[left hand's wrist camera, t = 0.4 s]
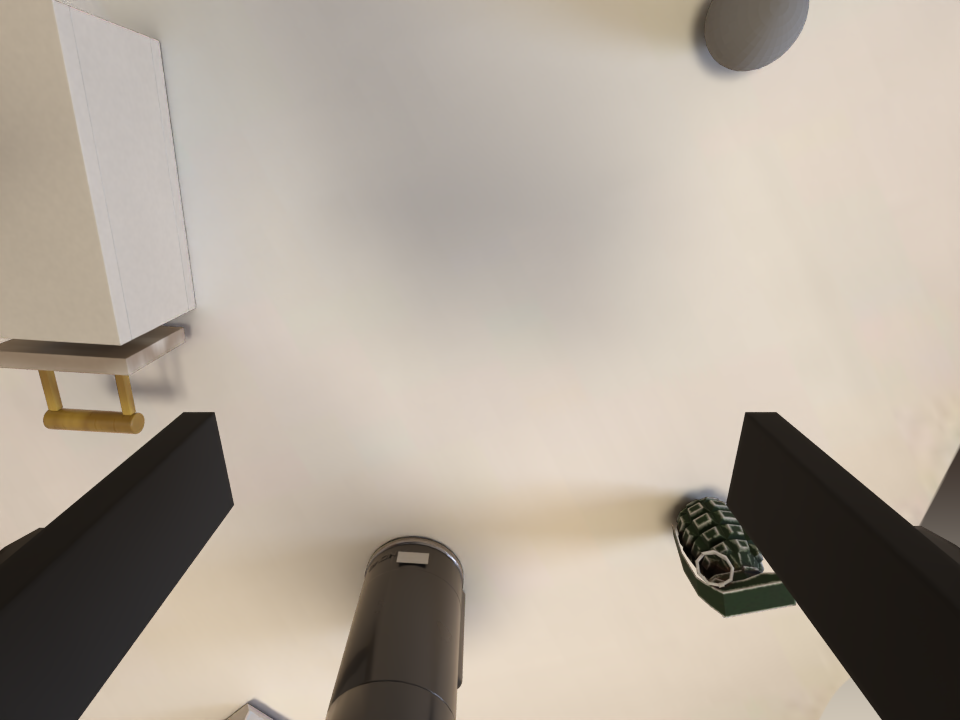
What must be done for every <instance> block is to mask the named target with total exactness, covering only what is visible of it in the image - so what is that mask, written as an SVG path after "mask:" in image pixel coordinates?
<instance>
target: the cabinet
mask: <svg viewBox="0 0 960 720" xmlns="http://www.w3.org/2000/svg"><path fill="white" fill-rule="evenodd" d="M195 308H196V304H195V297H194V290H193V283H192V275H191V268H190V261H189V254H188V246H187V239H186V232H185V225H184V217H183V210H182V203H181V196H180V188H179V181H178V174H177V167H176V159H175V152H174V145H173V138H172V130H171V123H170V116H169V109H168V101H167V94H166V87H165V80H164V72H163V65H162V58H161V51H160V43H159V41H158V40H156V39H153V38H151V37H148V36H145V35H143V34H140V33H138V32H135V31H133V30H130V29H127V28H125V27H122V26H120V25H117V24H115V23H112V22H109V21H107V20H104V19H102V18H99V17H96V16H94V15H91V14H89V13H86V12H84V11H81V10H78V9H76V8H73V7H71V6H68V5H66V4H63V3H61V2H58V1H56V0H0V338H10V339H26V340H41V341H57V342H73V343H89V344H105V345H123V344H125V343H127V342H129V341H131V340H133V339H135V338H137V337H139V336H141V335H143V334H145V333H147V332H149V331H151V330H153V329H155V328H157V327H159V326H161V325H163V324H165V323H167V322H169V321H171V320H173V319H175V318H177V317H179V316H181V315H183V314H185V313H187V312H188V311H191V310H193V309H195Z"/></svg>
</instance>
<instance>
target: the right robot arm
mask: <svg viewBox="0 0 960 720" xmlns="http://www.w3.org/2000/svg"><path fill="white" fill-rule="evenodd" d="M462 589H463V570H462V567H461V564H460V562H459V560H458V559H457V557H456V556H455V555H454V554H453V553H452V552H451V551H450V550H449V549H447V548H446V547H445V546H443V545H441V544H439V543H437V542H435V541H432V540H428V539H424V538H414V537H410V538H401V539H397V540H394V541H391V542H389V543H387V544H385V545H383V546H382V547H380V548H379V549H378V550H377V551H376V552H375V553H374V554H373V555H372V557H371V558H370V560H369V562H368V565H367V569H366V572H365V580H364V584H363V587H362V591H361V594H360V597H359V601H358V604H357V608H356V611H355V615H354V618H353V622H352V626H351V629H350V633H349V636H348V640H347V643H346V647H345V651H344V654H343V658H342V661H341V665H340V668H339V672H338V676H337V679H336V683H335V686H334V690H333V693H332V697H331V701H330V704H329V708H328V711H327V716H326V719H325V720H456V705H457V689H458V688H459V687H460V686H461V684H462V674H463V645H464V616H465V593H464V592H463V591H462Z"/></svg>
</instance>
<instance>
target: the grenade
mask: <svg viewBox="0 0 960 720" xmlns="http://www.w3.org/2000/svg"><path fill="white" fill-rule="evenodd" d="M677 523H678V525H677V529H678V533H679V535H678V537H679V541H680V544H681V545H682V546H683V551H684V552H685V554H686V555H687V557H688V558H689V560H690V561H691V562H692V563H693V565H694V566H695V567H696V569H697V574H698V575H699V576H700V577H701V578H702V579H703V580H704V581H705V582H706V583H707V584H706V583H705V582H703V581H702V580H700V579H699V578H697V577H696V575H695V574H694V572H693V570H692V569H691V567H690V565H689V564H688V562H687V560H686V559H685V557H684V556H683V554H682V552H681V549H680V546H679V543H678V540H677V537H676V534H675V530H674V527H673V524H672V528H673V535H674V539H675V543H676V546H677V549H678V553H679V556H680V560H681V563H682V566H683V570H684V572H685V574H686V576H687V577H688V579H689V581H690V582H691V584H692V586H693V587H694V589H695V591H696V593H697V594H698V596H699V597H700V598H701V599H702V600H703V601H705V602H706V603H707V604H708V605H709V606H710V607H711V608H713V609H714V610H716V611H717V612H718V613H720V614H721V615H722V616H723V618H729V617H734V616H740V615H745V614H751V613H756V612H762V611H767V610H773V609H778V608H784V607H789V606H794V605H796V601H795V599H794V598H793V597H792V595H791V594H790V592H789V591H788V590H787V588H786V587H785V586H784V584H783V583H782V581H781V580H780V579H779V577H778V576H777V575H776V573H763V571H764V568H763V565H762V562H761V561H762V560H763V557H762V554H761V553H760V551H759V550H758V548H757V547H756V546H755V544H754V543H753V541H752V540H751V539H750V537H749V536H748V535H747V533H746V532H745V530H744V529H743V528H742V526H741V525H740V524H739V522H738V521H737V519H736V518H735V517H734V515H733V514H732V513H731V511H730V510H729V508H728V507H727V506H726V503H724V502H723V501H719V500H718V498H710V497H706V498H703V499H701V500H697V499H696V500H694V501H692V502H690V503H689V504H687V505H686V508H685V509H683V510H682V511H681V512H680V513H679V515H678V518H677ZM704 576H705V577H704Z"/></svg>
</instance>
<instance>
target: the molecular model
mask: <svg viewBox="0 0 960 720" xmlns="http://www.w3.org/2000/svg"><path fill="white" fill-rule="evenodd" d="M808 9H809V0H712V2H711V4H710V7H709V9H708V13H707V16H706V20H705V40H706V45H707V47H708V50H709V52H710V54H711V55H712V57H713V58H714V59H715V60H716V61H717V62H718V63H719V64H721V65H722V66H724V67H726V68H728V69H731V70H735V71H750V70H755V69H759V68H761V67H764V66H766V65H768V64H770V63H772V62H773V61H775V60H776V59H778V58H779V57H781V56H782V55H783V54H784V53H785V52H786V51H787V50H788V49H789V48H790V47H791V46H792V44H793V43H794V42H795V40H796V39H797V38H798V36H799V34H800V33H801V31H802V29H803V26H804V24H805V21H806V18H807V13H808Z"/></svg>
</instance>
